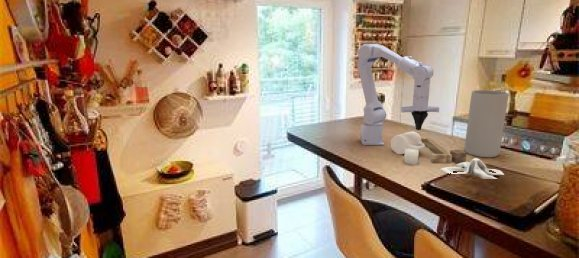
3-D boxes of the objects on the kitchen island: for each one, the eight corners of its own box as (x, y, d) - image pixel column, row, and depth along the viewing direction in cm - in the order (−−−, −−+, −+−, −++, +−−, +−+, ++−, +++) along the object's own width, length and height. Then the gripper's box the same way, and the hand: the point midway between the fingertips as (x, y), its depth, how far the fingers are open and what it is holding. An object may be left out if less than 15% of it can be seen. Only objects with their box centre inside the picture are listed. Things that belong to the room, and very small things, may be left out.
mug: (390, 151, 138) (391, 133, 136) (404, 147, 143) (406, 129, 141) (415, 159, 128) (416, 140, 126) (429, 154, 134) (431, 135, 132)
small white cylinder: (406, 164, 123) (407, 152, 122) (402, 160, 128) (403, 147, 126) (419, 164, 123) (420, 152, 121) (415, 160, 127) (416, 147, 126)
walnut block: (456, 163, 123) (457, 153, 122) (449, 160, 127) (450, 150, 126) (465, 162, 124) (466, 152, 123) (458, 159, 128) (459, 149, 127)
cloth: (433, 174, 115) (435, 157, 113) (456, 161, 127) (458, 146, 125) (505, 195, 99) (508, 176, 97) (523, 178, 110) (527, 161, 109)
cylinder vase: (498, 150, 136) (508, 91, 130) (499, 160, 126) (509, 95, 120) (464, 146, 143) (472, 89, 136) (463, 154, 132) (471, 93, 126)
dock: (432, 162, 124) (433, 155, 124) (412, 144, 146) (413, 137, 146) (451, 162, 124) (452, 155, 123) (428, 144, 146) (429, 137, 145)
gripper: (405, 98, 126) (402, 132, 129) (443, 97, 125) (440, 132, 129) (400, 95, 133) (397, 127, 136) (436, 94, 132) (433, 127, 135)
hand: (418, 129), depth 133 cm, fingers closed
